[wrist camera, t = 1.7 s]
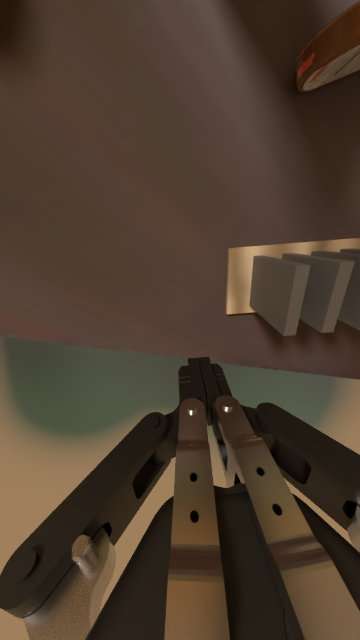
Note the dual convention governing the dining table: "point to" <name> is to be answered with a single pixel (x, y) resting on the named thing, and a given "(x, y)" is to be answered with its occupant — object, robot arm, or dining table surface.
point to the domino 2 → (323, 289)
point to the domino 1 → (278, 291)
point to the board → (243, 256)
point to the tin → (331, 52)
